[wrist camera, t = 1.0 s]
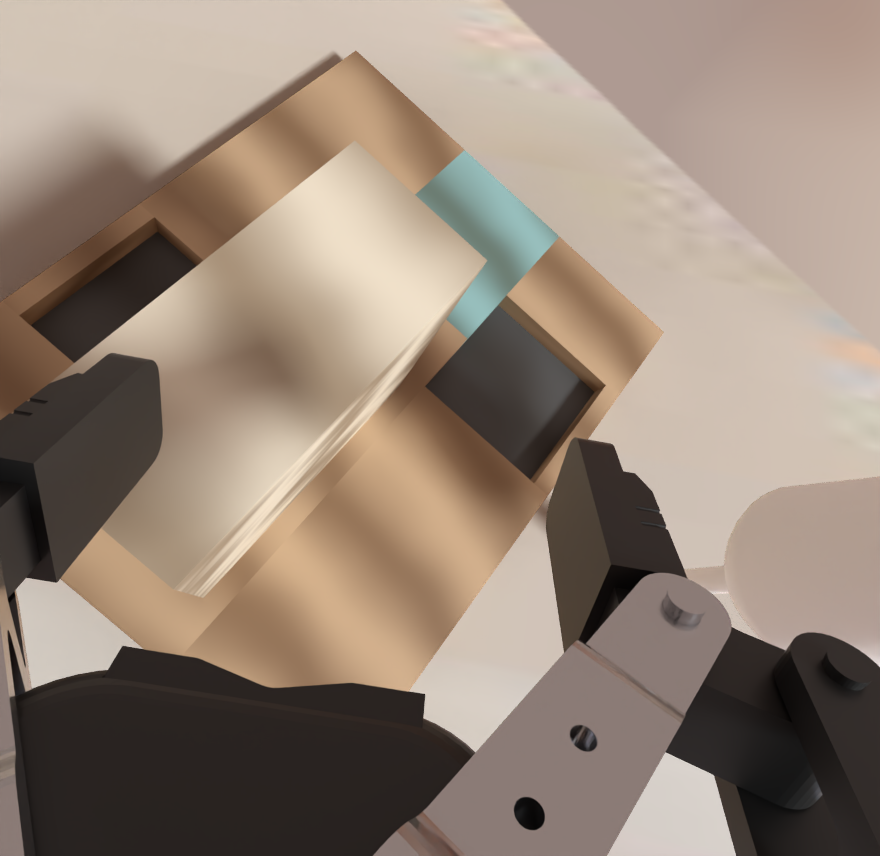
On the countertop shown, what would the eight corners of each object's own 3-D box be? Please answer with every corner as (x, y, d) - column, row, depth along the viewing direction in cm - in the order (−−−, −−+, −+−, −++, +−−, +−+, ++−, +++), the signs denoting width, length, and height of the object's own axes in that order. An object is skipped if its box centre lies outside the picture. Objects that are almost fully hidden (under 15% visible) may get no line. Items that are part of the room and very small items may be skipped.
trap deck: (323, 794, 28) (328, 803, 27) (-126, 415, 27) (-146, 405, 26) (649, 341, 41) (663, 332, 39) (352, 70, 40) (356, 50, 38)
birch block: (203, 597, 28) (173, 589, 16) (99, 509, 27) (-13, 432, 15) (399, 386, 33) (487, 260, 21) (314, 310, 33) (355, 140, 21)
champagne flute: (543, 571, 34) (1084, 505, 12) (622, 504, 37) (1185, 349, 15) (614, 674, 34) (1306, 796, 12) (689, 598, 36) (1369, 583, 14)
